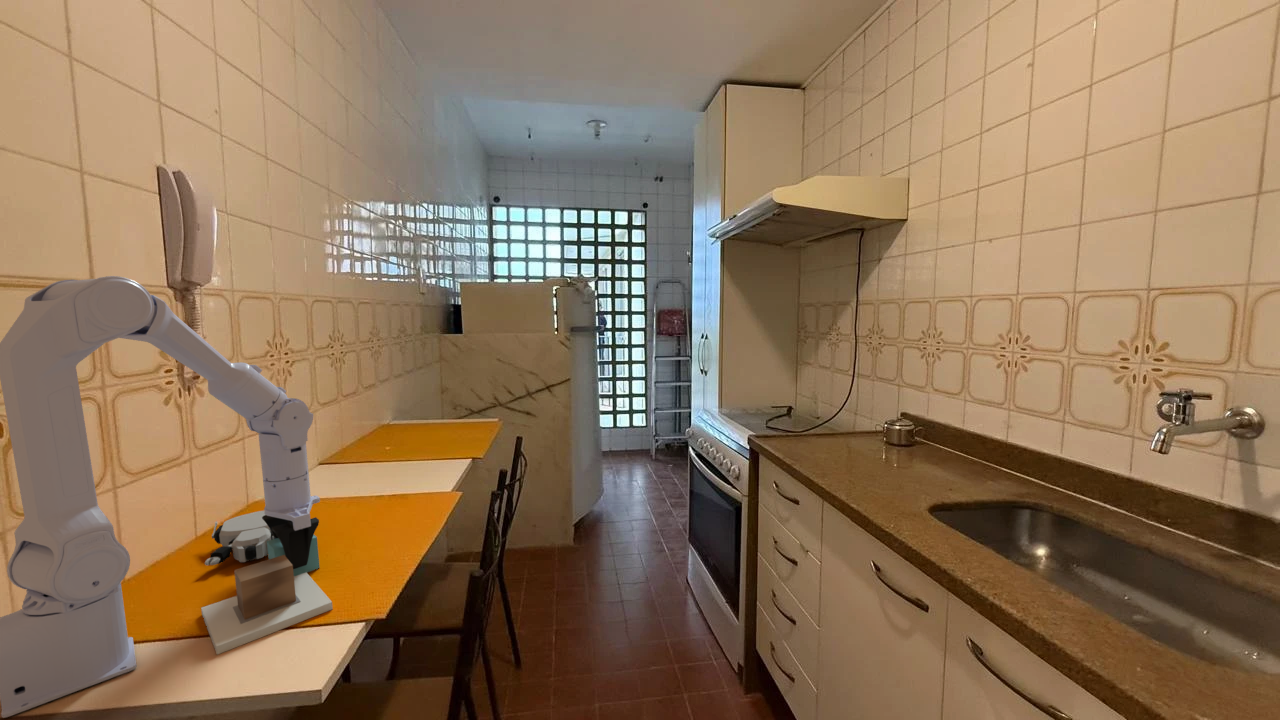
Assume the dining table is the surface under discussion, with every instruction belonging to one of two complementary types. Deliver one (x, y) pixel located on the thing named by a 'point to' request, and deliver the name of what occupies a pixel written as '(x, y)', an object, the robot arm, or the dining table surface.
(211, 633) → the build plate
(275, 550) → the teal brick
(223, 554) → the robot toy
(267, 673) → the dining table surface
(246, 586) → the walnut brick
